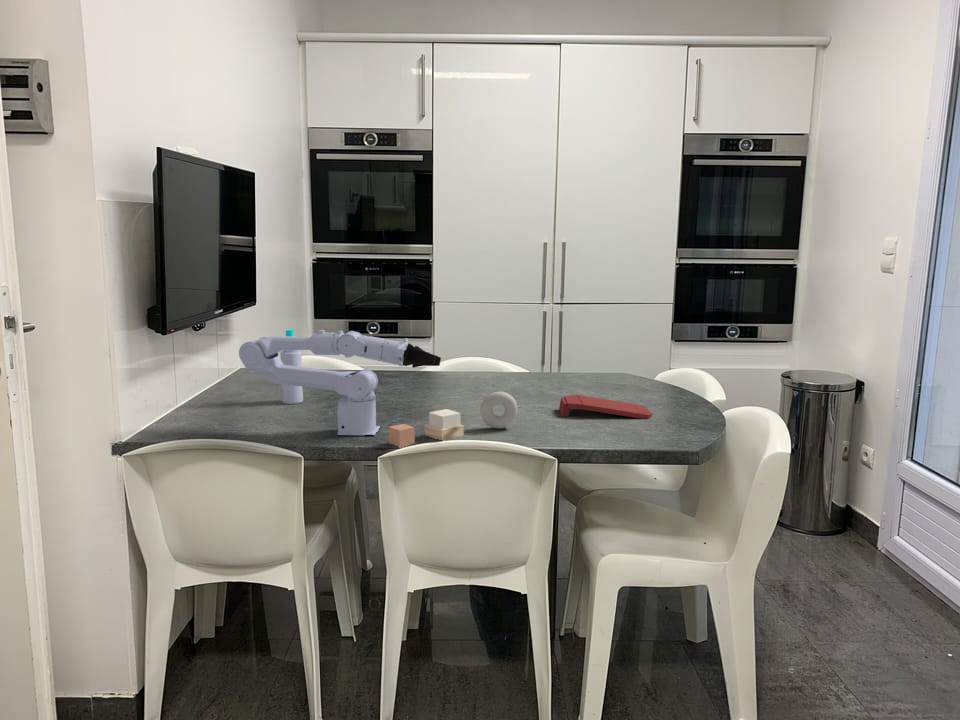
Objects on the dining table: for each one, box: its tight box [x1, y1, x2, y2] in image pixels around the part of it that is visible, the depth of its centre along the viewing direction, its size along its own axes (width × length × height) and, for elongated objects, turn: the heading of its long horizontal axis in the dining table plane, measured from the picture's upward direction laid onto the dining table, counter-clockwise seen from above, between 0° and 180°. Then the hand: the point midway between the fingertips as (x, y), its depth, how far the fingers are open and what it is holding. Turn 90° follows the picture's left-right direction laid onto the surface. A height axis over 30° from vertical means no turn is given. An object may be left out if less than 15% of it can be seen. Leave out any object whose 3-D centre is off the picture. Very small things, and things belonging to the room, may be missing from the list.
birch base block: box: [424, 423, 465, 441], centre depth 185 cm, size 7×7×3 cm
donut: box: [479, 391, 519, 430], centre depth 191 cm, size 10×4×10 cm, turn 96°
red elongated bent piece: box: [558, 394, 653, 420], centre depth 209 cm, size 12×5×25 cm
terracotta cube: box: [388, 423, 415, 449], centre depth 177 cm, size 4×4×4 cm
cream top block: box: [428, 408, 461, 429], centre depth 184 cm, size 6×6×3 cm
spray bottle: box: [279, 328, 304, 405], centre depth 218 cm, size 6×6×22 cm
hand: (437, 360), depth 182 cm, fingers open, 7 cm apart
